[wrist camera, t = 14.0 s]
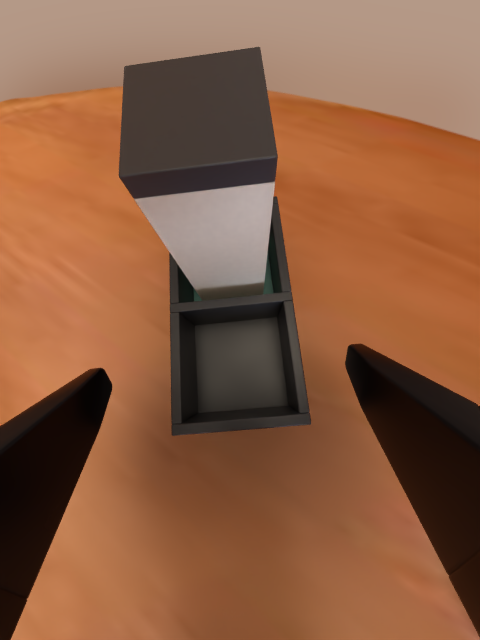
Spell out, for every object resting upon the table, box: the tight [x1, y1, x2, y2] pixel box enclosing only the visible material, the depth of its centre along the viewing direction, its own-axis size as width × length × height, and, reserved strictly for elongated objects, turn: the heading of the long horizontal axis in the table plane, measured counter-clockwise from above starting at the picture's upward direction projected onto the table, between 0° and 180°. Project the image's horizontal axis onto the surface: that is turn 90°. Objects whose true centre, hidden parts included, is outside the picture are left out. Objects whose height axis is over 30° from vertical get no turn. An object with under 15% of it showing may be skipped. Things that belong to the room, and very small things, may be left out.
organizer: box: [169, 197, 311, 436], centre depth 17 cm, size 15×8×4 cm, turn 5°
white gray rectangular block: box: [119, 47, 278, 301], centre depth 13 cm, size 5×5×12 cm
